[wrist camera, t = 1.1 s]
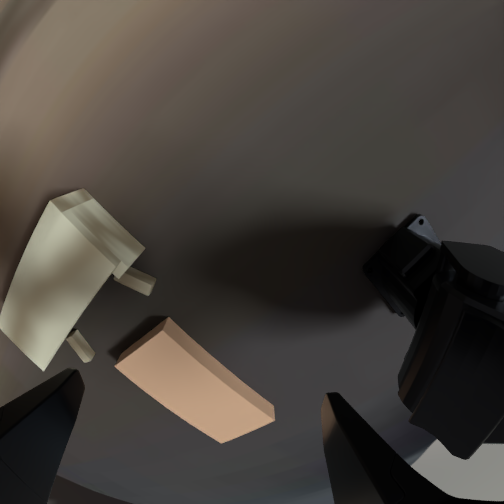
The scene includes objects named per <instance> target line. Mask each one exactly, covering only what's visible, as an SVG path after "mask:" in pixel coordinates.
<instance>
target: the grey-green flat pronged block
mask: <svg viewBox="0 0 504 504" xmlns="http://www.w3.org/2000/svg"><path fill="white" fill-rule="evenodd" d="M145 249H146V248H145V247H144V246H143V245H141V244H140V243H139V242H138V241H137V240H136V239H135V238H134V237H133V236H132V235H131V234H130V233H129V232H128V231H127V230H126V229H124V228H123V227H122V226H121V225H120V224H119V223H118V222H117V221H116V220H115V219H114V218H113V217H112V216H111V215H110V214H109V213H108V212H107V211H106V210H105V209H104V208H103V207H102V206H101V205H100V204H99V203H98V202H97V201H96V200H95V199H94V198H93V197H92V196H91V195H90V194H89V193H88V192H87V191H86V190H85V189H84V188H83V189H80V190H77V191H74V192H71V193H68V194H66V195H63V196H60V197H57V198H55V199H52V200H50V201H49V203H48V205H47V207H46V209H45V210H44V212H43V214H42V216H41V218H40V220H39V222H38V224H37V226H36V228H35V230H34V232H33V234H32V236H31V238H30V240H29V242H28V245H27V247H26V249H25V251H24V254H23V256H22V258H21V261H20V263H19V265H18V268H17V270H16V273H15V275H14V278H13V280H12V283H11V286H10V288H9V291H8V294H7V297H6V299H5V302H4V305H3V308H2V311H1V315H0V329H1V330H2V331H3V332H4V333H5V334H6V335H7V336H8V337H9V338H10V339H11V341H12V342H13V343H14V344H15V345H16V346H17V347H18V348H19V349H20V350H21V351H22V352H23V353H24V354H26V355H27V356H28V357H29V358H30V359H31V360H32V361H33V362H34V363H35V364H36V365H37V366H38V367H39V368H41V369H42V370H43V371H44V370H45V369H46V367H47V366H48V364H49V363H50V361H51V360H52V358H53V357H54V355H55V353H56V352H57V350H58V349H59V347H60V346H61V344H62V343H63V341H64V340H65V338H66V337H67V335H68V334H69V332H70V331H71V329H72V328H73V327H74V325H75V323H76V322H77V320H78V319H79V317H80V316H81V315H82V313H83V312H84V310H85V309H86V308H87V306H88V305H89V303H90V302H91V301H92V299H93V298H94V297H95V295H96V294H97V292H98V291H99V290H100V288H101V287H102V286H103V284H104V283H105V282H106V280H107V279H108V278H109V276H110V275H111V274H114V275H115V276H114V280H115V281H117V282H119V283H121V284H123V285H125V286H127V287H129V288H132V289H134V290H136V291H138V292H140V293H142V294H145V295H147V296H149V295H150V293H151V291H152V290H153V287H154V285H155V282H156V278H154V277H152V276H150V275H148V274H145V273H143V272H141V271H139V270H137V269H135V268H132V267H130V266H131V265H132V264H133V263H134V261H135V260H136V259H137V258H138V257H139V256H140V254H141V253H142V252H143V251H144V250H145ZM66 340H67V341H68V342H69V344H70V345H71V346H72V348H73V349H74V350H75V352H76V353H77V354H78V355H79V357H80V358H81V359H82V360H83V362H84V363H86V362H89V361H91V360H92V358H93V357H94V355H95V352H94V351H93V349H92V348H91V347H90V346H89V344H88V343H87V342H86V340H85V339H84V338H83V336H82V335H81V334H80V332H79V331H78V329H77V330H75V331H72V332H71V333H70V334H69V335H68V337H67V338H66Z"/></svg>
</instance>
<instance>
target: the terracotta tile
mask: <svg viewBox="0 0 504 504" xmlns="http://www.w3.org/2000/svg"><path fill="white" fill-rule="evenodd" d="M115 367H116V368H117V369H118V370H119V371H120V372H122V373H123V374H124V375H125V376H126V377H128V378H129V379H130V380H131V381H132V382H134V383H135V384H136V385H137V386H139V387H140V388H141V389H143V390H144V391H145V392H146V393H148V394H149V395H150V396H152V397H153V398H154V399H156V400H157V401H158V402H160V403H161V404H162V405H164V406H165V407H166V408H168V409H169V410H171V411H172V412H174V413H175V414H176V415H178V416H179V417H181V418H182V419H184V420H185V421H187V422H188V423H190V424H191V425H193V426H194V427H196V428H197V429H199V430H200V431H202V432H204V433H205V434H207V435H208V436H210V437H212V438H213V439H215V440H217V441H218V442H220V443H224V442H226V441H229V440H231V439H234V438H236V437H239V436H241V435H244V434H246V433H248V432H251V431H253V430H255V429H257V428H260V427H262V426H264V425H266V424H268V423H271V422H273V421H275V416H274V406H273V405H272V404H270V403H269V402H268V401H267V400H265V399H264V398H263V397H261V396H260V395H259V394H257V393H256V392H255V391H254V390H252V389H251V388H250V387H249V386H247V385H246V384H245V383H244V382H242V381H241V380H240V379H239V378H237V377H236V376H235V375H234V374H232V373H231V372H230V371H229V370H228V369H226V368H225V367H224V366H223V365H222V364H221V363H219V362H218V361H217V360H216V359H215V358H213V357H212V356H211V355H210V354H209V353H208V352H207V351H205V350H204V349H203V348H202V347H201V346H200V345H199V344H198V343H196V342H195V341H194V340H193V339H192V338H191V337H190V336H189V335H188V334H186V333H185V332H184V331H183V330H182V329H181V328H180V327H179V326H178V325H177V324H176V323H175V322H174V321H172V320H171V319H170V318H169V317H168V318H166V319H165V320H164V321H162V322H161V323H160V324H159V325H157V326H156V327H155V328H153V329H152V330H151V331H150V332H148V333H147V334H146V335H144V336H143V337H142V338H141V339H139V340H138V341H137V342H135V343H134V344H133V345H132V346H130V347H129V348H128V349H126V350H125V351H124V352H123V353H121V355H120V357H119V359H118V360H117V362H116V364H115Z"/></svg>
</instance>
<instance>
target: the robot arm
mask: <svg viewBox="0 0 504 504" xmlns="http://www.w3.org/2000/svg"><path fill="white" fill-rule="evenodd" d="M420 219H421V223H420V224H419V220H420ZM370 267H372V268H371V270H370V271H367V270H368V268H370ZM363 272H364V274H365V275H366V276H367V277H368V278H369V280H370V281H371V282H372V283H373V284H374V286H375V287H376V288H377V289H378V291H379V292H380V293H381V294H382V295H383V297H384V298H385V299H386V300H387V302H388V303H389V304H390V305H391V307H392V308H393V309H394V310H395V312H396V313H397V314H398V315H399V316H400V317H403V316H406V318H407V319H408V320H409V322H410V323H411V324H412V326H413V327H414V328H415V329H416V331H415V334H414V337H413V339H412V342H411V344H410V347H409V350H408V352H407V353H406V356H405V358H404V362H403V364H402V366H401V369H400V372H399V374H398V385H399V391H398V395H399V397H400V399H401V401H402V402H403V404H404V405H405V406H406V407H407V408H408V409H409V410H410V411H411V412H412V413H413V414H412V415H411V417H410V419H409V422H410V423H411V424H413V425H416V426H418V427H421V428H423V429H425V430H426V431H428V432H429V433H431V434H432V435H434V436H435V437H436V438H437V439H438V440H439V441H440V442H441V443H442V444H443V445H444V446H445V447H446V449H447V450H448V451H449V452H450V453H451V454H452V455H454V456H456V457H459V458H461V459H465V460H466V459H469V458H470V457H471V456H472V455H473V454H474V453H475V452H476V450H477V449H478V448H479V447H480V446H481V445H482V444H504V252H502V251H500V250H498V249H496V248H493V247H491V246H488V245H479V244H470V243H461V242H452V241H442V242H441V243H440V241H439V239H438V237H437V236H436V234H435V232H434V231H433V229H432V227H431V226H430V224H429V222H428V221H427V219H426V218H425V217H424V216H423V215H420V214H418V215H416V216H415V217H414V218H413V219H412V220H411V221H410V222H409V223H408V224H407V225H406V226H405V227H403V228H401V229H400V230H399V231H398V232H397V233H396V234H395V235H394V236H393V237H392V238H391V239H390V240H389V241H388V242H386V243H385V244H384V245H383V246H382V247H381V248H380V251H379V252H378V253H377V254H375V255H374V256H373V257H372V258H371V259H370V260H369V261H368V262H367V263H366V264H365V265H364V266H363ZM401 311H402V312H401ZM84 390H85V385H84V382H83V380H82V377H81V375H80V372H79V371H78V370H77V369H73V368H67V369H65V370H64V371H62V372H60V373H58V374H57V375H55V376H53V377H52V378H50V379H48V380H47V381H45V382H43V383H41V384H40V385H38V386H36V387H35V388H33V389H31V390H29V391H28V392H26V393H24V394H23V395H21V396H19V397H17V398H16V399H14V400H12V401H11V402H9V403H7V404H5V405H4V406H2V407H0V504H47V502H48V499H49V495H50V492H51V489H52V486H53V483H54V479H55V476H56V473H57V471H58V468H59V465H60V462H61V459H62V456H63V453H64V451H65V448H66V445H67V443H68V440H69V437H70V435H71V432H72V429H73V427H74V424H75V421H76V418H77V415H78V411H79V408H80V404H81V401H82V397H83V394H84ZM321 419H322V432H323V445H324V453H325V458H326V463H327V468H328V473H329V478H330V483H331V488H332V493H333V498H334V503H335V504H504V501H481V500H471V499H461V498H456V497H453V496H450V495H448V494H446V493H445V492H443V491H442V490H440V489H439V488H438V487H436V486H435V485H434V484H432V483H431V482H430V481H428V480H427V479H426V478H424V477H423V476H421V475H420V474H419V473H418V472H417V471H415V470H414V469H413V468H412V467H411V466H410V465H409V464H407V463H406V462H405V461H404V460H403V459H402V458H401V457H400V456H399V455H398V454H397V453H396V452H395V451H394V450H393V449H392V448H391V447H390V446H389V445H388V444H387V443H386V442H385V441H384V440H383V439H382V438H381V437H380V436H379V435H378V434H377V433H376V432H375V431H374V430H373V428H372V427H371V426H370V425H369V424H368V423H367V422H366V421H365V420H364V419H363V418H362V417H361V416H360V415H359V414H358V413H357V412H356V411H355V410H354V409H353V408H352V407H351V406H350V405H349V403H348V402H347V401H346V400H345V399H344V398H343V397H342V396H341V395H340V394H339V393H337V392H331V393H326V395H325V398H324V401H323V404H322V408H321Z"/></svg>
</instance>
